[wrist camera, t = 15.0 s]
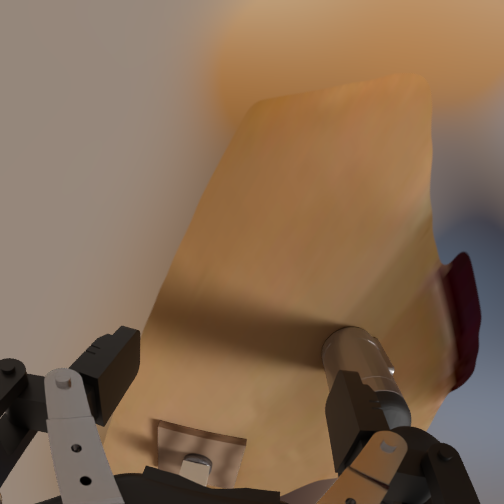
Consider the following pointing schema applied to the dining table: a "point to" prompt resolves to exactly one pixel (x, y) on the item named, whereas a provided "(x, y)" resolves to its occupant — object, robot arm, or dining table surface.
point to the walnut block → (200, 452)
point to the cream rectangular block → (195, 472)
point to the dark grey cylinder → (198, 459)
